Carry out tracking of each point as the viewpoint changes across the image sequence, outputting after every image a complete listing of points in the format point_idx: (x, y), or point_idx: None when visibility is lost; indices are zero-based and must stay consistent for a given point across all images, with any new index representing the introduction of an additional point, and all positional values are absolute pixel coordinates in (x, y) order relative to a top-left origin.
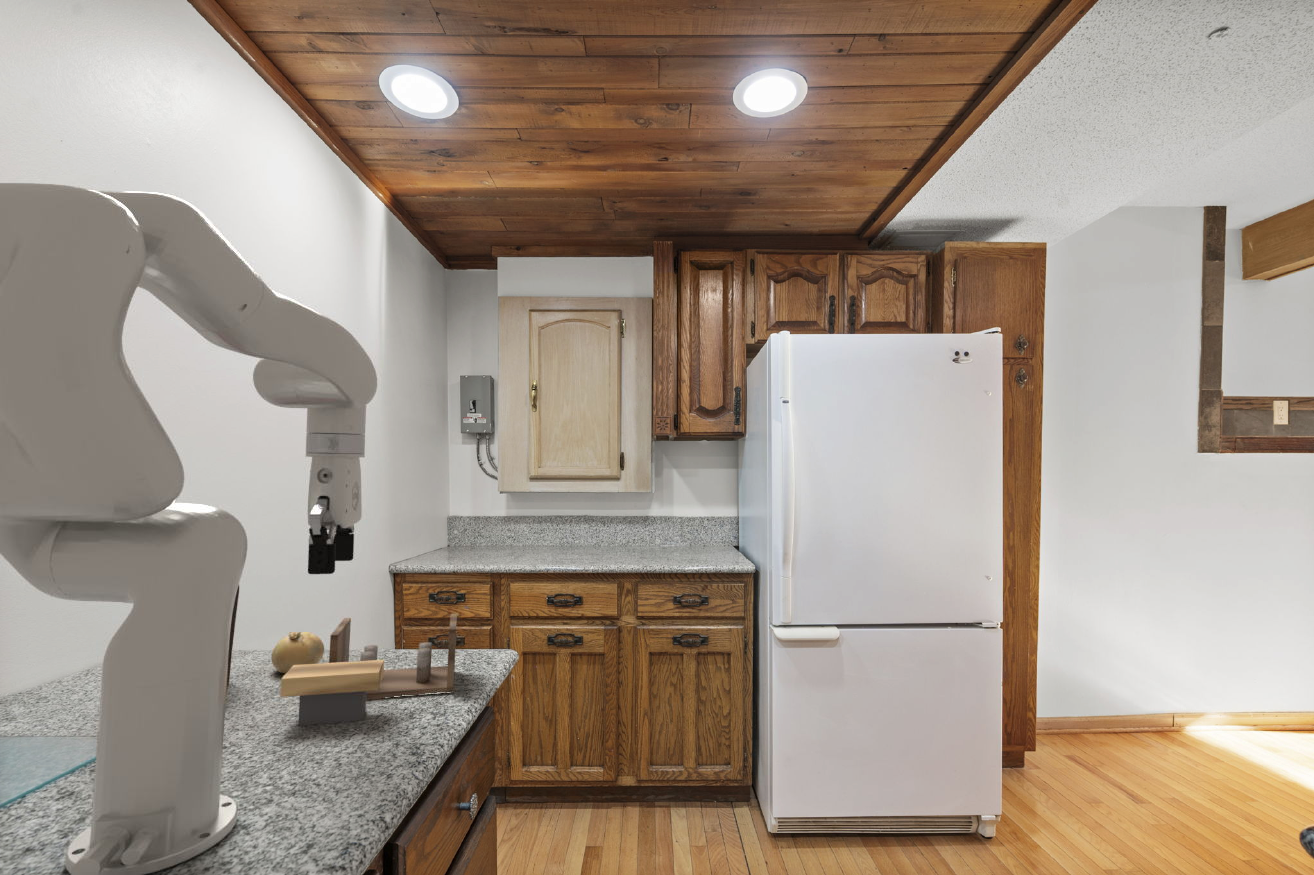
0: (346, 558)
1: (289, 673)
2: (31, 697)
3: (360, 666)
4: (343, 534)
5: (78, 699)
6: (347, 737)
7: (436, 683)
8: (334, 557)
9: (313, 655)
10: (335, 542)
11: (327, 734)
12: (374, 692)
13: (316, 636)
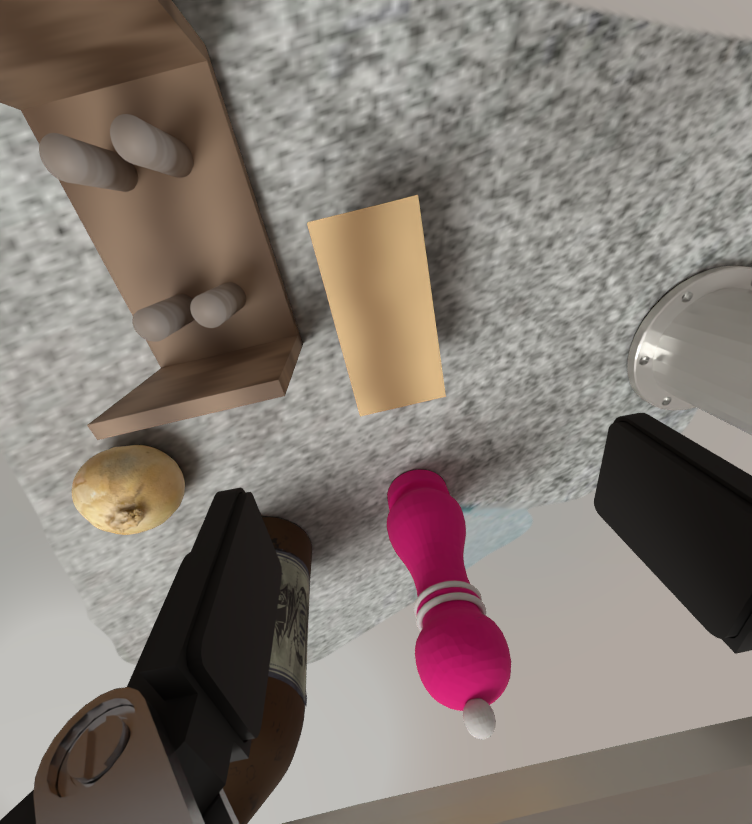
0: (255, 514)
1: (414, 397)
2: (312, 653)
3: (368, 266)
4: (213, 707)
5: (314, 620)
6: (460, 235)
7: (183, 107)
8: (719, 458)
9: (141, 456)
10: (256, 659)
11: (443, 278)
12: (272, 260)
13: (87, 487)
